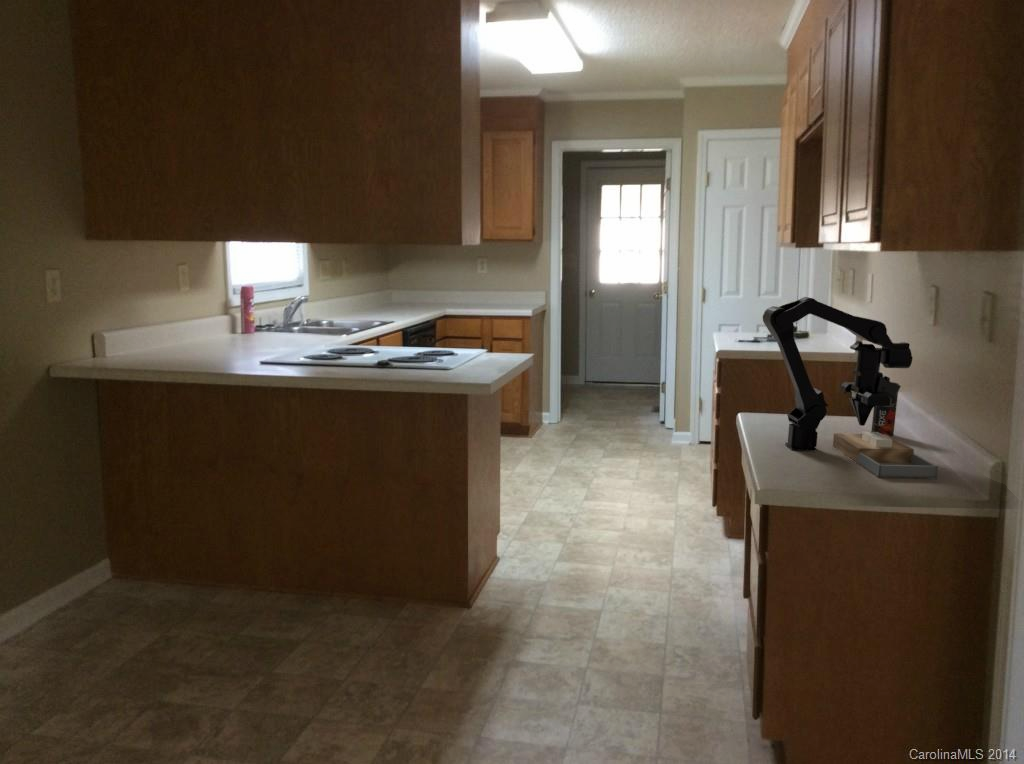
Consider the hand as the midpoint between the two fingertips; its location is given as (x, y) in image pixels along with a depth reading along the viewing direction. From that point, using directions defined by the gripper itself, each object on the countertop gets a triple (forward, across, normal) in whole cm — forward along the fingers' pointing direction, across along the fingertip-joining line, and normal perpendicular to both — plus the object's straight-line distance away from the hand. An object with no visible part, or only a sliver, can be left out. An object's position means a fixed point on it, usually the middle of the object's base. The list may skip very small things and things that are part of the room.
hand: (861, 425), depth 234 cm
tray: (+7, -21, 0) cm, 22 cm away
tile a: (+3, -7, 0) cm, 7 cm away
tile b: (+2, -12, 0) cm, 12 cm away
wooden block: (+6, -7, 0) cm, 10 cm away
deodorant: (+7, +18, -14) cm, 24 cm away
